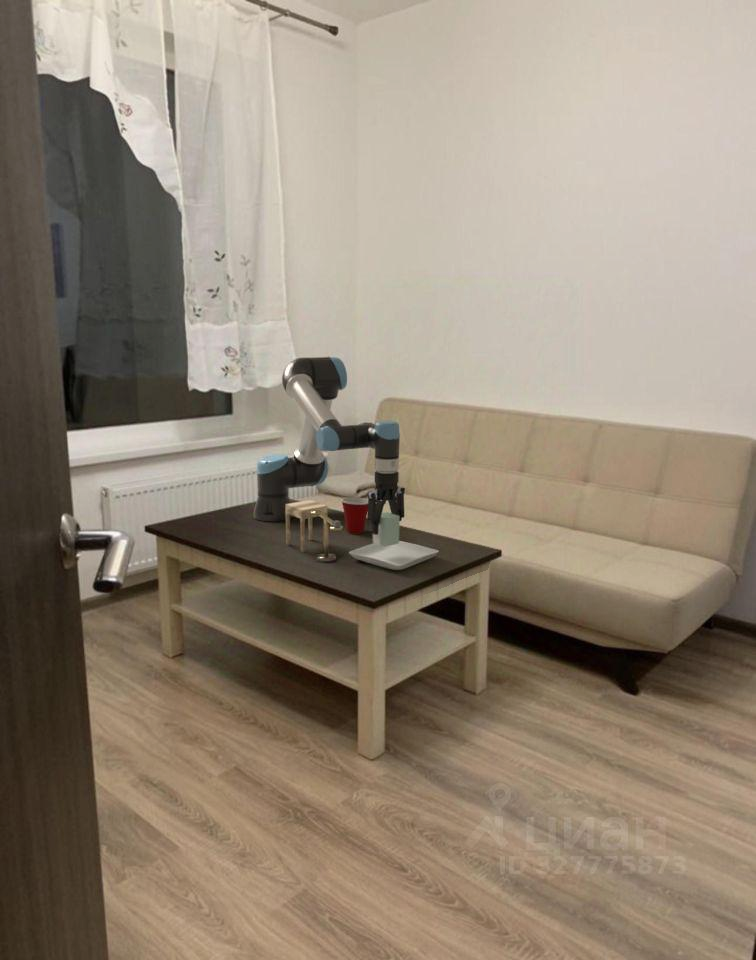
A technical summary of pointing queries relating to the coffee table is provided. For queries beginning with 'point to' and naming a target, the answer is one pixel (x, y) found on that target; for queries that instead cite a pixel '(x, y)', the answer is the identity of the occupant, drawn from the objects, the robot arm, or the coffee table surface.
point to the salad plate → (394, 555)
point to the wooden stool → (304, 512)
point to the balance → (336, 527)
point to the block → (389, 529)
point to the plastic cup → (355, 514)
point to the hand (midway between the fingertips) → (385, 541)
